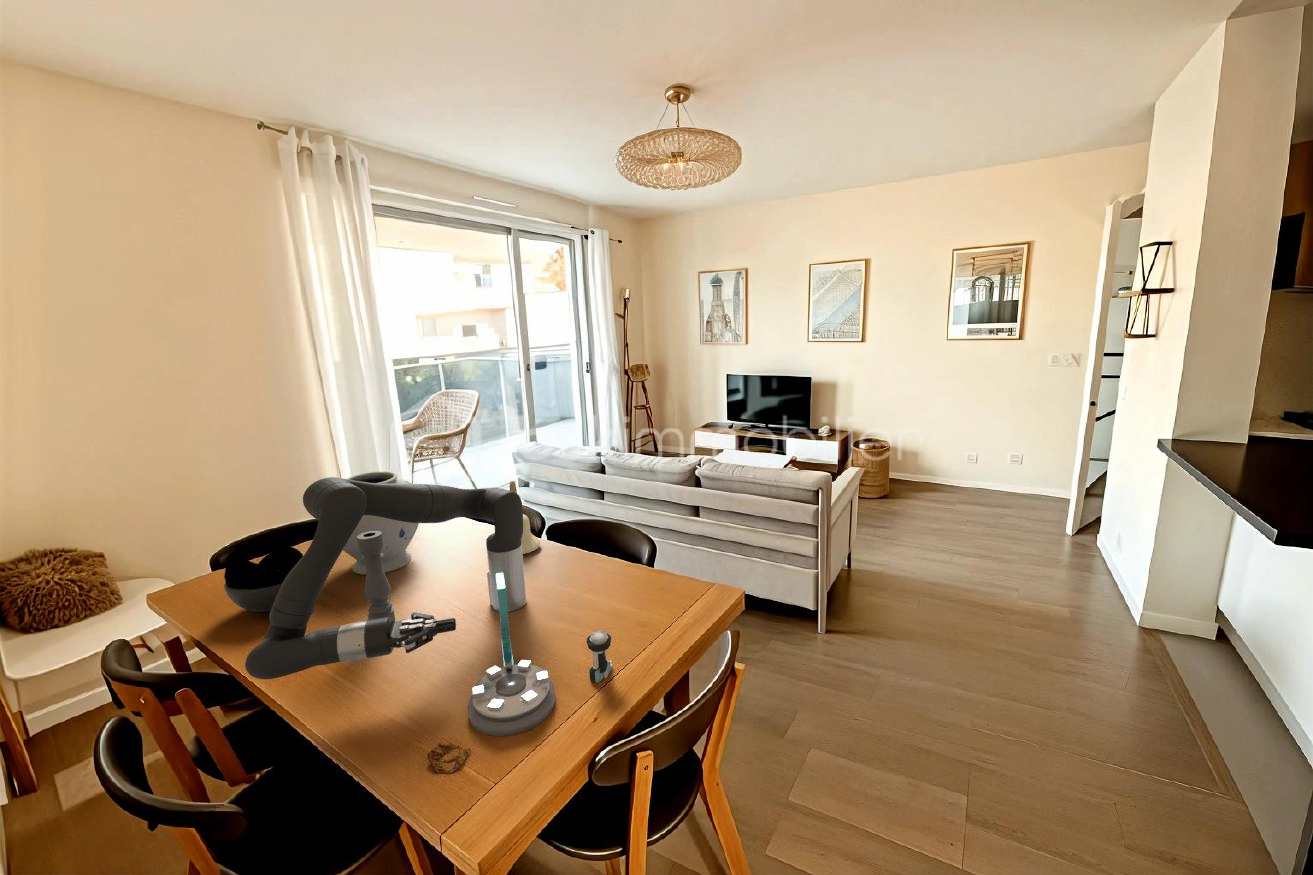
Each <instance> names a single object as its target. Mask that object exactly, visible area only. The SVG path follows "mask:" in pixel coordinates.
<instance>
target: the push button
mask: <svg viewBox="0 0 1313 875" xmlns="http://www.w3.org/2000/svg"><path fill="white" fill-rule="evenodd" d="M611 642H612V636H611V635H610V633H607V632H606V631H604V630H596V631H594V632H592V633H590V635H589V636H588V637H587V638H586V644H587V648H588V649H589V650H590V651H591V652H592V661H593V662H592V667H590V669H589V680H590V681H592V682H595V683H597V684H599V683H600V682H601V681H602V680H603V679H607V678H608V676H609V674H610V673H611V668H612V666H613V660H612V659H609V660H608V656H607V650H609V648H610V647H611Z"/></svg>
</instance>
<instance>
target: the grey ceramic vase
mask: <svg viewBox="0 0 1313 875" xmlns="http://www.w3.org/2000/svg"><path fill="white" fill-rule="evenodd" d="M346 479H348V480H354V481H360V482H367V483H377V484H397V483H398V484H413V483H411V482H410V481H408V480H405V479H401V478H398V474H397V473H395V472H393V471H370V472H365V473H360V474H355V475H351V476H349V477H347V478H346ZM419 524H420V523H409V522H402V521H397V520H392V519H388V518H383V517H378V516H370V515H363V517H362V518H361V520H360V522H359V524H358V525H357V527H356V529H355V530H354V532H353V533H352V535H351V537H350V538H349V540H348V542H347V543H346V545H345V547H344V548H343V550H342V552H345V553H346V554H347V555H349V556H350V557H352V558H353V559H354V560H356V561H355V562H353V564H352V568H351V569H352V571H353V573H355V574H358V575H365V576H366V575H367V574H366V567H365V564H364V563H363V562H362V561H361V559H362V557H363V556H364V555H363V554H362V553H361V552H360V550H359V548H358V542H357V536H358V535H359V534H361V533H364V532H368V531H381V532H382V537H383V548H382V549H381V553H383V554H384V558H383V559H382V566H383V571H384V574H386V573H390V572H392V571H395V570H398V569H401V568H403V567H405V566H406V565H407V564H409V563H410V562H411V561H412V557H413V556H412V554H411V553H410V552H408V551H407V548H408V547H409V546H410V543H411V542H412V541H413V537H414V536H415V535H416V532H417V530H418V528H419Z"/></svg>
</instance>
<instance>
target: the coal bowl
mask: <svg viewBox="0 0 1313 875" xmlns="http://www.w3.org/2000/svg"><path fill="white" fill-rule="evenodd" d="M245 548H246V547H245V545H243V544H240V545H238V546H237V547H236V548H234V551H233V552H231V553H230V554H229V555H227V556H226V558H225V562H226V563H227V564H226V566H225V568H224V576H223V577H224V581H225V583H224V585H223V589H224V592H225V593H226V595H227V597H228V598H229V599H230V600H231V601H232V602H233V603H234V604H235V605H236V606H238V607H240V608H241V609H243V610H247V611H250V612H259V613H264V612H270V611H271V609H272V606H273V604H274V601H275V599H276V597H277V594H278V592H279V590H280V587H281V585H282V583H283V582H284V580H285V578H286V577H287V575H288V574H289V572H290V571H291V570H292V569H293V567H294V566H295V565H296V564H297V563H298V562H299V561H300V559H301V558H302V557H303V556H304V554H303V553H302V552H301V551H300V550H299V549H297V548H295V547H292V546H291V544H290V541H289V539H287V538H286V539H285V538H283V539H280V540H277V541H276V542H275V543H274V544H272V545H269V547H268V548H269V549H266V550H265V551H264V554H266V555H265V556H264V557H263V558H262V559H260V561H259V562H258V563H256V562H254V561H250V560H248V558H247V557H246V556H245V555H244V551H245Z"/></svg>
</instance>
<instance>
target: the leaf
mask: <svg viewBox="0 0 1313 875" xmlns="http://www.w3.org/2000/svg"><path fill="white" fill-rule="evenodd" d="M457 749H458V751H457V753H458V755H454V756H452V757H451V758H449V759H447V758H446V759H444V757H445V756H446V755H449V754H451V753H452V752H453V751H454V750H457ZM463 753H464V754H463ZM470 754H471V748H470V747H469V748H464V747H462V746H461V745H456V744H455V743H452V742H450V741H449V742H448V743H447V744H445V743H441V742H438V743H437V744H436V745H435V747H434V748H433V749H431V750H430V751H428V752H427V754H426V755H427V757H426V759H427V760H428V762H429V765H431V767H433V770H434V771H436V772H437V773H438V774H445V775H448V774H453V773H454V772H456V770H458V769H460V767H461V766H462V765H463V763H464V761H465V759H466V758H467V757H469V755H470ZM454 762H455V763H454ZM447 763H448V764H450V763H454V766H452V769H446V768H444V765H443V764H447Z"/></svg>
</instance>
